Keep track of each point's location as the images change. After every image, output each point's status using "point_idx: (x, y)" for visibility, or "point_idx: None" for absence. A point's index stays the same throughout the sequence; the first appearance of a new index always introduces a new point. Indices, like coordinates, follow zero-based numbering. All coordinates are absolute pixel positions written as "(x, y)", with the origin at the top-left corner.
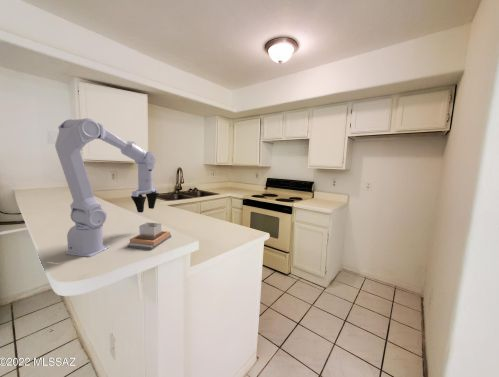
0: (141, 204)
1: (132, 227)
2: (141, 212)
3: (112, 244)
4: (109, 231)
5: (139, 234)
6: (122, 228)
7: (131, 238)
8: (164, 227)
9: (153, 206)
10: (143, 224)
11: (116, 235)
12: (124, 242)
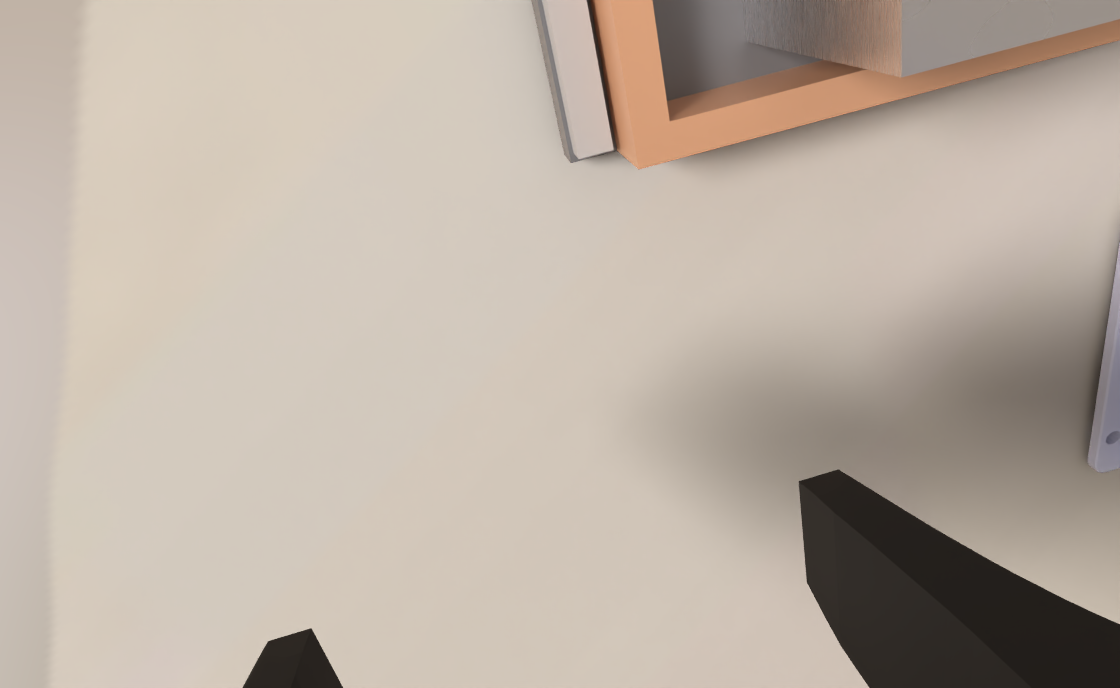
0: (1096, 638)
1: (438, 633)
2: (844, 483)
3: (1017, 286)
4: (683, 674)
5: (916, 89)
6: (535, 675)
7: (1112, 35)
8: (97, 277)
9: (290, 683)
10: (1071, 19)
11: (760, 512)
12: (933, 224)
